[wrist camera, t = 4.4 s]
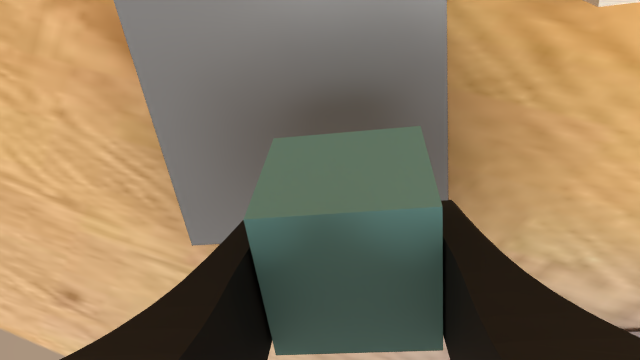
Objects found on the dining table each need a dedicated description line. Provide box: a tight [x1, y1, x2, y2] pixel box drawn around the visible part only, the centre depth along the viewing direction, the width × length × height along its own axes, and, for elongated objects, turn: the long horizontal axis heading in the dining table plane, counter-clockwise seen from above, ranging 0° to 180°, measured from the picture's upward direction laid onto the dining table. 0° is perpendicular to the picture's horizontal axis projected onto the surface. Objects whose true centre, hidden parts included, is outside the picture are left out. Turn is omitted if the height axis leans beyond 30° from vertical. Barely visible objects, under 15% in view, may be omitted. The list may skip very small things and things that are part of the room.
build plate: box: [114, 0, 448, 246], centre depth 20 cm, size 12×12×1 cm
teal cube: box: [243, 126, 443, 355], centre depth 12 cm, size 4×4×4 cm
